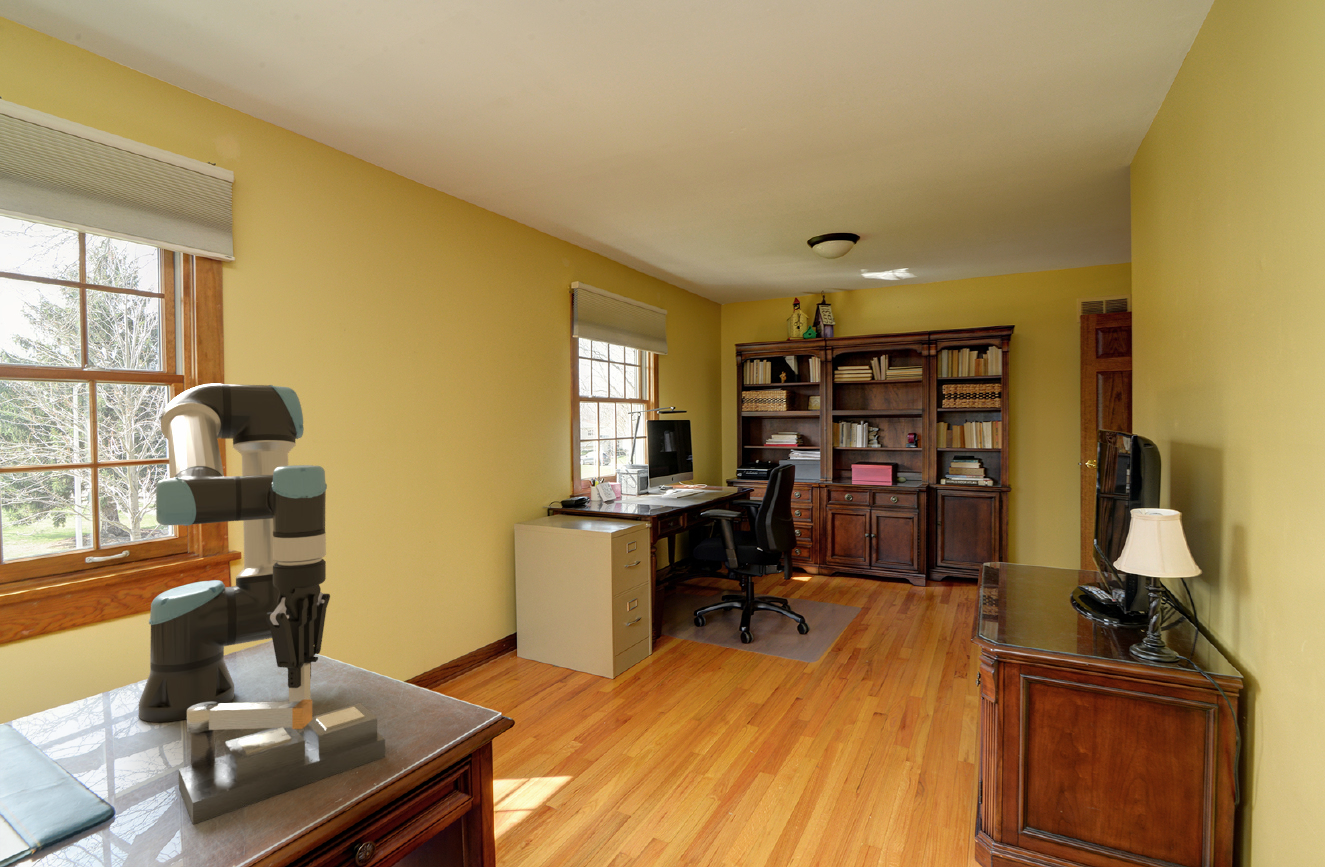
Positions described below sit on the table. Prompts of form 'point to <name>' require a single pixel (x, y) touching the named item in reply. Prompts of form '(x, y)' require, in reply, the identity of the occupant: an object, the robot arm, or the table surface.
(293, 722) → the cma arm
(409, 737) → the table surface
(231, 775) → the grey stepped block base
